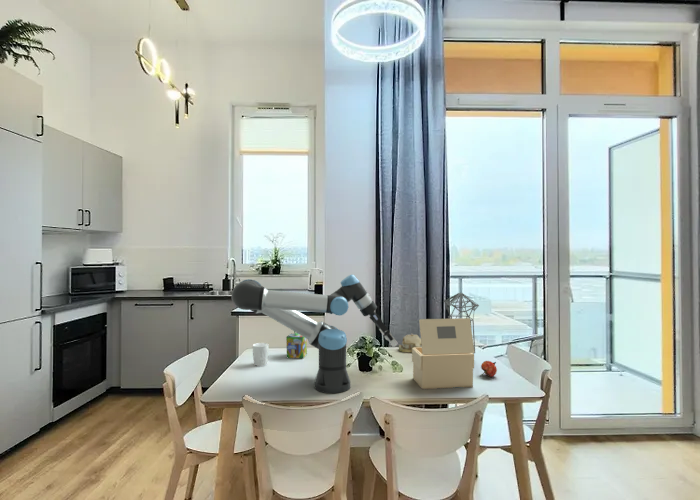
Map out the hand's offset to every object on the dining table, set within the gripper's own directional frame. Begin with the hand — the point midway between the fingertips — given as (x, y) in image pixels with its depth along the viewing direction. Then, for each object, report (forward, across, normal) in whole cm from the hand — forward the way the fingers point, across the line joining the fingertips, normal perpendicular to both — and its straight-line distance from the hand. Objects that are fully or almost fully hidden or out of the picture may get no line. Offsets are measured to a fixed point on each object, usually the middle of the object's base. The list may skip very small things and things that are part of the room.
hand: (392, 341), depth 191 cm
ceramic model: (+25, +41, -8) cm, 48 cm away
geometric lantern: (+36, +21, -24) cm, 49 cm away
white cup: (-24, +24, +59) cm, 68 cm away
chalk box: (-13, +37, +45) cm, 59 cm away
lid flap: (+6, -18, -19) cm, 27 cm away
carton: (+24, -13, -7) cm, 28 cm away
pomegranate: (+38, -7, -26) cm, 46 cm away
